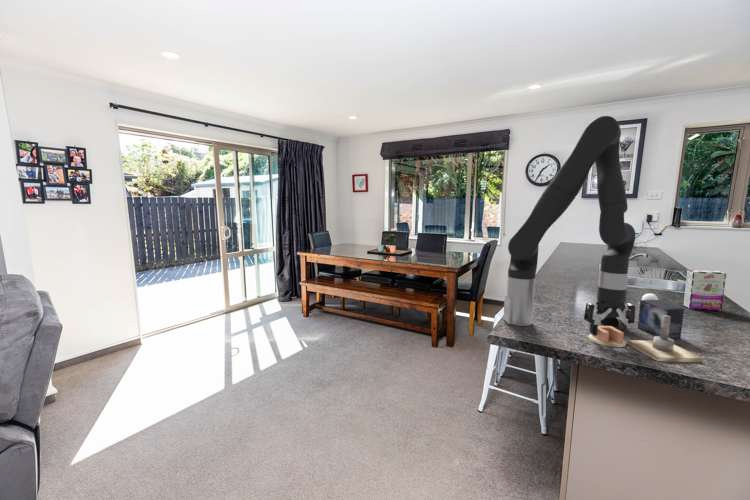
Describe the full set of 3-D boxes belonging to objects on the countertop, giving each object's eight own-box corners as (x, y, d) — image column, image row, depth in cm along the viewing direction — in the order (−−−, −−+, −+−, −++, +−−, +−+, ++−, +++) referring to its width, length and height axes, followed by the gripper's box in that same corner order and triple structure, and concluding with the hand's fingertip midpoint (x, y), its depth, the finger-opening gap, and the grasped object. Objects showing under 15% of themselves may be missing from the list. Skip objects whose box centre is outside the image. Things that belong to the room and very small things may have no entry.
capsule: (655, 315, 133) (657, 296, 132) (638, 312, 137) (640, 293, 136) (658, 313, 136) (660, 293, 135) (642, 309, 140) (644, 291, 139)
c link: (591, 335, 111) (592, 325, 110) (610, 336, 110) (611, 326, 110) (603, 343, 105) (604, 332, 104) (622, 343, 104) (624, 332, 104)
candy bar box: (713, 308, 143) (719, 270, 141) (721, 311, 138) (727, 272, 136) (681, 305, 146) (686, 269, 144) (688, 309, 142) (693, 271, 140)
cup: (626, 328, 118) (630, 295, 117) (602, 327, 120) (606, 294, 118) (615, 321, 126) (619, 290, 124) (593, 319, 127) (596, 289, 126)
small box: (635, 327, 120) (638, 299, 118) (652, 327, 120) (655, 299, 119) (663, 339, 109) (667, 308, 108) (681, 339, 110) (685, 308, 108)
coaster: (600, 346, 103) (600, 345, 103) (582, 334, 113) (582, 333, 113) (633, 347, 102) (634, 346, 102) (612, 335, 112) (612, 334, 112)
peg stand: (657, 361, 94) (661, 322, 92) (627, 343, 105) (630, 309, 104) (701, 362, 93) (707, 323, 92) (666, 344, 105) (670, 310, 103)
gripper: (627, 283, 109) (622, 331, 111) (582, 282, 109) (578, 330, 111) (644, 289, 101) (638, 340, 103) (596, 288, 102) (591, 339, 104)
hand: (607, 335), depth 107 cm, fingers open, 8 cm apart
